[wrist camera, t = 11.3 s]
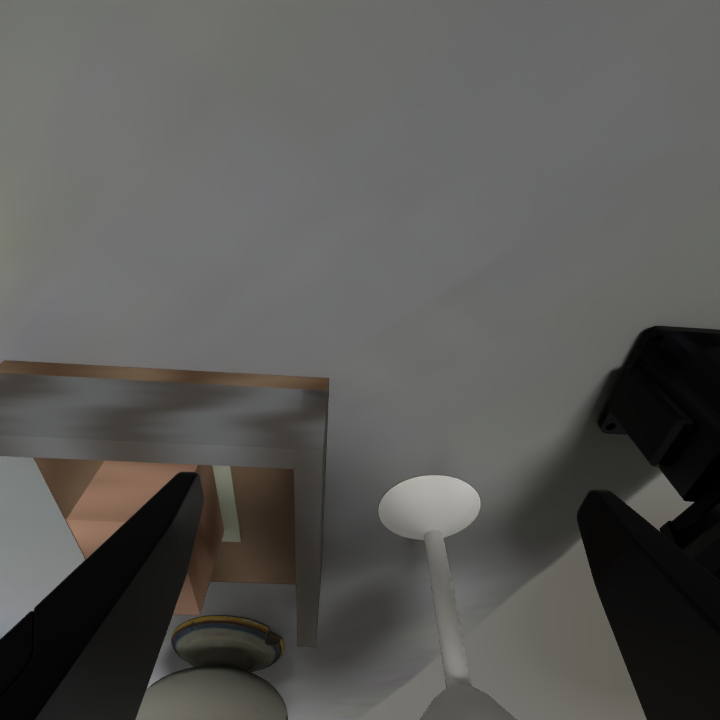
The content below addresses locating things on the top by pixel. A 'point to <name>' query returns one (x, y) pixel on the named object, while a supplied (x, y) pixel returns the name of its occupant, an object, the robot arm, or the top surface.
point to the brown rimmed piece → (190, 453)
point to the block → (128, 494)
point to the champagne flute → (442, 581)
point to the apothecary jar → (218, 674)
